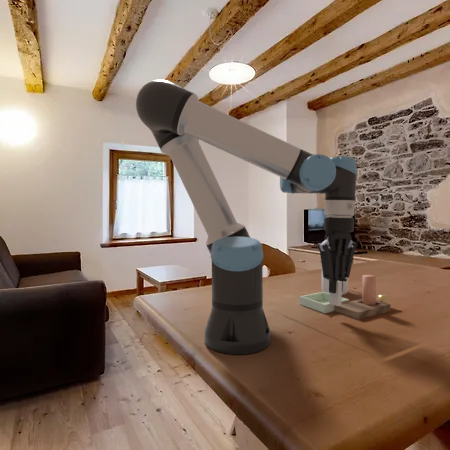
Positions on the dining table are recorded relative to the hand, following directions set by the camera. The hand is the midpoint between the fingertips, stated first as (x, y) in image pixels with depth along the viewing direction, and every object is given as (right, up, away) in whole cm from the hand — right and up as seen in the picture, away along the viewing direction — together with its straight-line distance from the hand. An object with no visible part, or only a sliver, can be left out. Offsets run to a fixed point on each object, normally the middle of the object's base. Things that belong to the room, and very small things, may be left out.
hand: (335, 304), depth 87 cm
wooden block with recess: (+10, -5, +6) cm, 13 cm away
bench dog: (+18, -4, +10) cm, 21 cm away
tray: (0, -4, +11) cm, 12 cm away
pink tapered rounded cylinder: (+12, -3, +7) cm, 15 cm away
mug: (+10, -3, +28) cm, 30 cm away
